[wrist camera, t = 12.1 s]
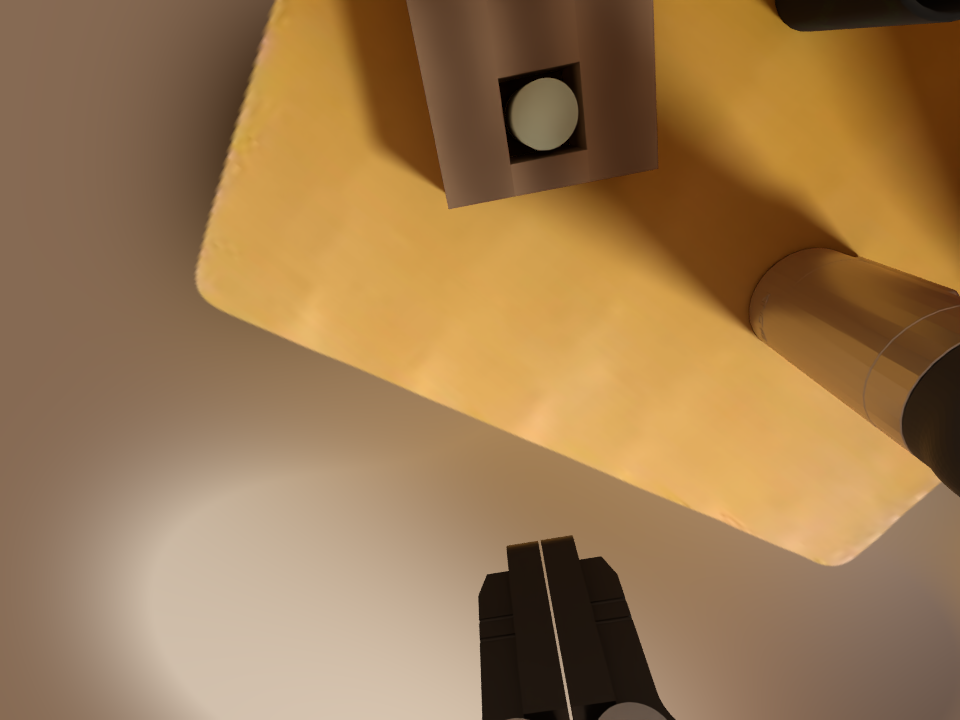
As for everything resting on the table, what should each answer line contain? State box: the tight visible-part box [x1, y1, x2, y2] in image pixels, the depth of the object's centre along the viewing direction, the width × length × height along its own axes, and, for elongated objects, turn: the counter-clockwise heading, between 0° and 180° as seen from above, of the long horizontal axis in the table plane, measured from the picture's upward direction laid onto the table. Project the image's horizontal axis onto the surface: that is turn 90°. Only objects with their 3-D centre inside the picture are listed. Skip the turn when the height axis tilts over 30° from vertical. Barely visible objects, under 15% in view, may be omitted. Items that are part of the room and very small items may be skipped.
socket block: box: [406, 0, 658, 209], centre depth 33 cm, size 14×18×6 cm
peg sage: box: [505, 78, 578, 150], centre depth 34 cm, size 4×4×7 cm
